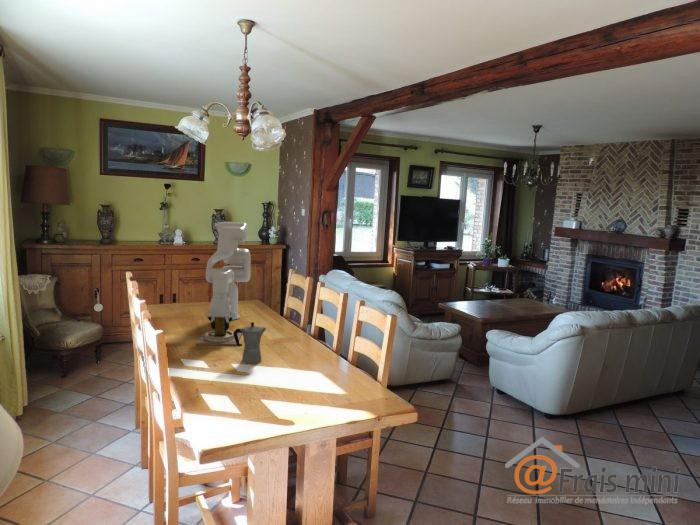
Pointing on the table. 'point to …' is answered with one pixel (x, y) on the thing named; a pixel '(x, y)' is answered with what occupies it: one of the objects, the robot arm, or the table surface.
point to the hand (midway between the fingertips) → (220, 329)
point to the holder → (218, 339)
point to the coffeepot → (250, 342)
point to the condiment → (220, 327)
